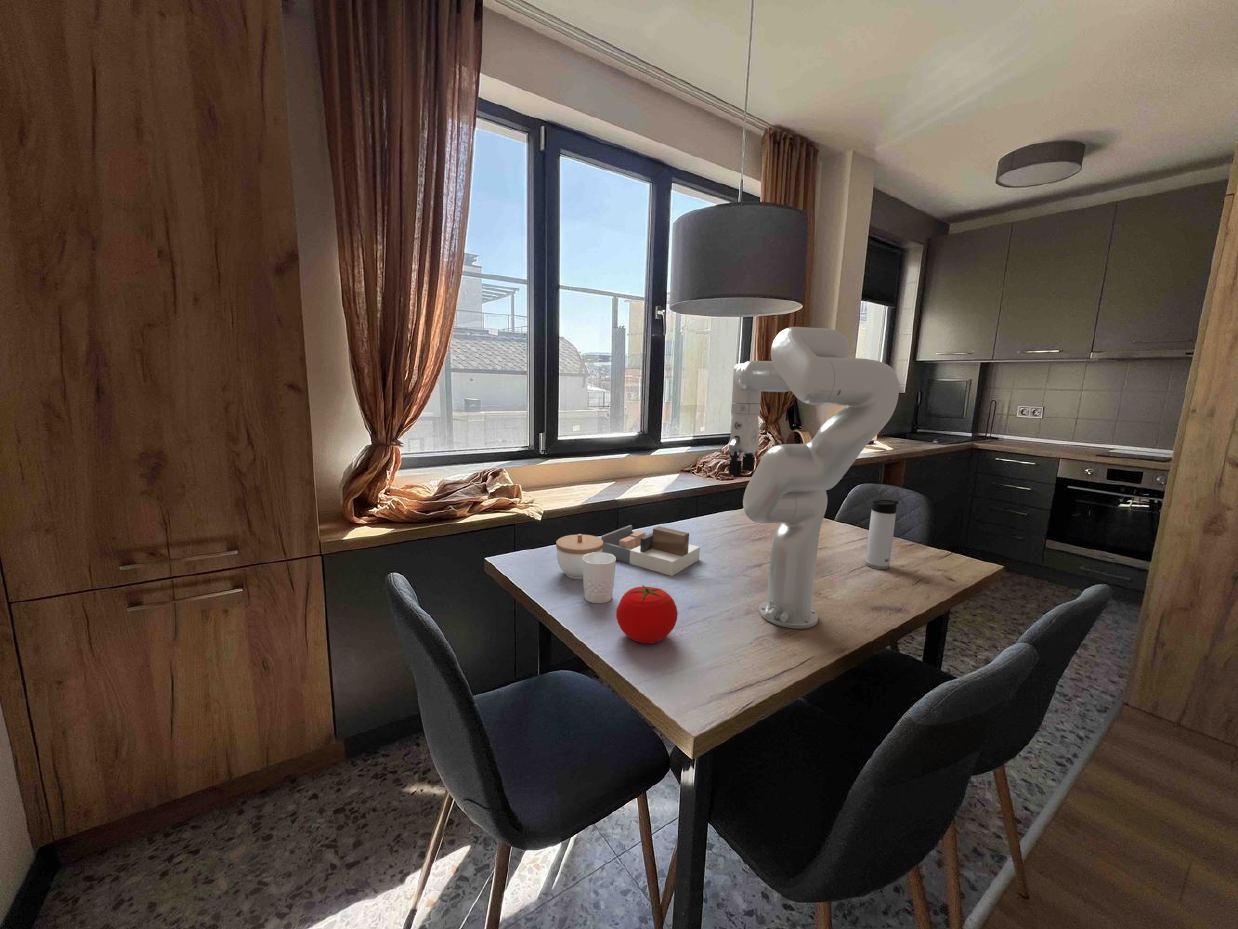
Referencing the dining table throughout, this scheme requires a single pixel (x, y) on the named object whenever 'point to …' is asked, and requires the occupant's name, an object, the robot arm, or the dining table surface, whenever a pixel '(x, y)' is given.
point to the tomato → (646, 614)
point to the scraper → (666, 541)
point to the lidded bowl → (576, 552)
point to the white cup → (598, 576)
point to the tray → (617, 543)
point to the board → (664, 559)
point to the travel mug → (881, 533)
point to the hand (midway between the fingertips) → (741, 472)
